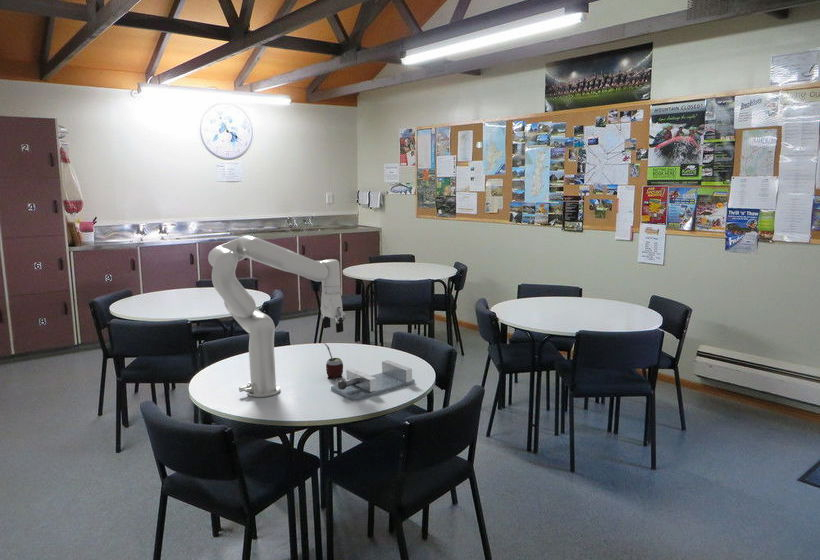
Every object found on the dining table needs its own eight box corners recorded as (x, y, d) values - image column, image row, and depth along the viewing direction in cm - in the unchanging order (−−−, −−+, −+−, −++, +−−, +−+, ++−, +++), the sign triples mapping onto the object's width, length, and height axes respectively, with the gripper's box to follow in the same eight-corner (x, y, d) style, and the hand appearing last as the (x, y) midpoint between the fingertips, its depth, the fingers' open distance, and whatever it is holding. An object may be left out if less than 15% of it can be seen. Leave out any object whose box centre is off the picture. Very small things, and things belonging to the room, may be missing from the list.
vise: (354, 401, 217) (353, 384, 216) (331, 390, 229) (330, 374, 228) (414, 383, 236) (414, 368, 235) (390, 373, 248) (390, 359, 247)
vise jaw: (350, 397, 215) (349, 385, 215) (327, 386, 228) (326, 375, 227) (376, 390, 223) (376, 378, 222) (352, 379, 235) (352, 368, 235)
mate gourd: (344, 379, 241) (343, 345, 239) (325, 381, 239) (324, 346, 237) (342, 374, 248) (341, 340, 246) (323, 375, 246) (322, 341, 244)
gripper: (312, 288, 242) (314, 327, 245) (335, 293, 229) (337, 335, 232) (327, 285, 246) (329, 324, 249) (350, 291, 233) (352, 332, 236)
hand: (333, 329), depth 241 cm, fingers open, 9 cm apart
